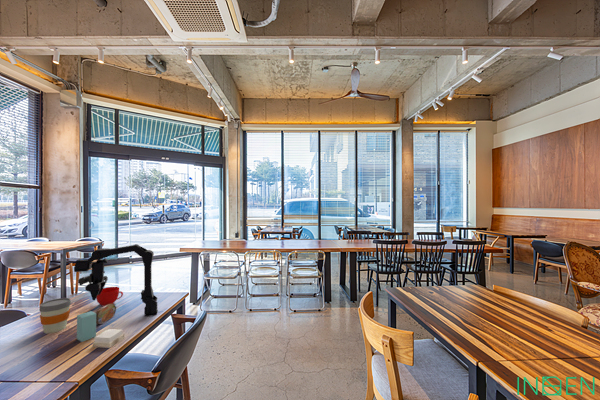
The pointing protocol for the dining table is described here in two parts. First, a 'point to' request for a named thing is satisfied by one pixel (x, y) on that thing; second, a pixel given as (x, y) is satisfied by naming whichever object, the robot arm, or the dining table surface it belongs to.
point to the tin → (105, 313)
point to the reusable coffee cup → (54, 314)
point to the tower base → (108, 345)
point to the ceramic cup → (108, 296)
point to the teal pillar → (86, 326)
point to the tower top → (108, 336)
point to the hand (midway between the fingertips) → (96, 297)
